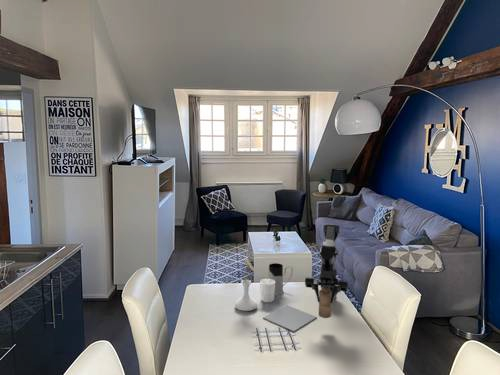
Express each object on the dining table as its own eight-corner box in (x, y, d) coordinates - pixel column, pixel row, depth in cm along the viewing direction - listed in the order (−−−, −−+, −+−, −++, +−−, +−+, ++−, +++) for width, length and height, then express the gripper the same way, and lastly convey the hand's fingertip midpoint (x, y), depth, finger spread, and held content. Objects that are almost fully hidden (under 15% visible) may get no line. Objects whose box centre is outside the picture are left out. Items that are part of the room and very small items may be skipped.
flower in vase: (257, 313, 186) (257, 263, 182) (234, 313, 186) (233, 263, 182) (257, 301, 199) (257, 255, 195) (235, 301, 199) (235, 254, 195)
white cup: (275, 296, 204) (275, 278, 203) (274, 303, 197) (274, 284, 195) (260, 296, 205) (260, 278, 204) (259, 302, 197) (259, 284, 196)
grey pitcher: (265, 289, 214) (265, 263, 211) (288, 286, 218) (289, 261, 216) (270, 295, 205) (271, 269, 203) (295, 292, 210) (295, 266, 207)
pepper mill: (322, 311, 174) (323, 284, 172) (333, 315, 171) (334, 287, 169) (316, 315, 170) (317, 287, 168) (326, 319, 167) (327, 291, 165)
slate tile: (286, 306, 193) (286, 305, 193) (316, 318, 181) (316, 316, 181) (263, 318, 181) (263, 317, 180) (293, 332, 168) (293, 331, 168)
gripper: (305, 260, 173) (302, 293, 164) (348, 263, 168) (347, 298, 160) (307, 270, 182) (304, 302, 173) (347, 274, 177) (346, 307, 168)
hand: (325, 302), depth 168 cm, fingers closed on pepper mill, 5 cm apart
